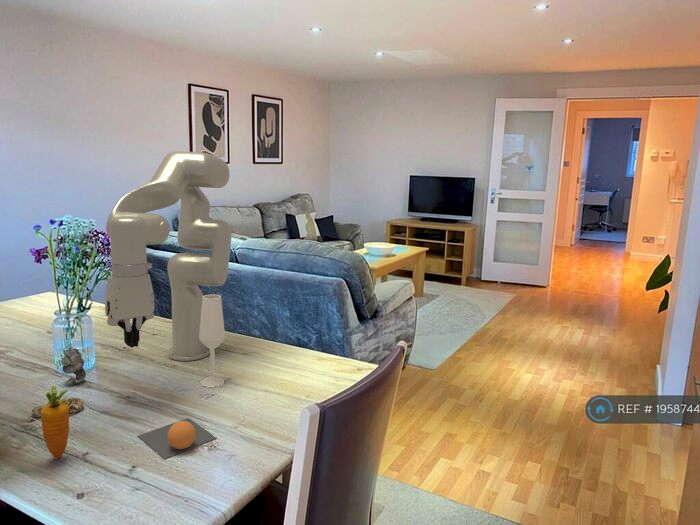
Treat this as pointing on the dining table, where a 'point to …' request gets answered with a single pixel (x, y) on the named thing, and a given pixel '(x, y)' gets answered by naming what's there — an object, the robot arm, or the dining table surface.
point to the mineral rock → (73, 403)
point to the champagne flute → (212, 332)
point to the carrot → (55, 423)
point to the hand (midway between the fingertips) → (132, 345)
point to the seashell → (73, 365)
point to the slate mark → (161, 445)
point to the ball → (181, 435)
